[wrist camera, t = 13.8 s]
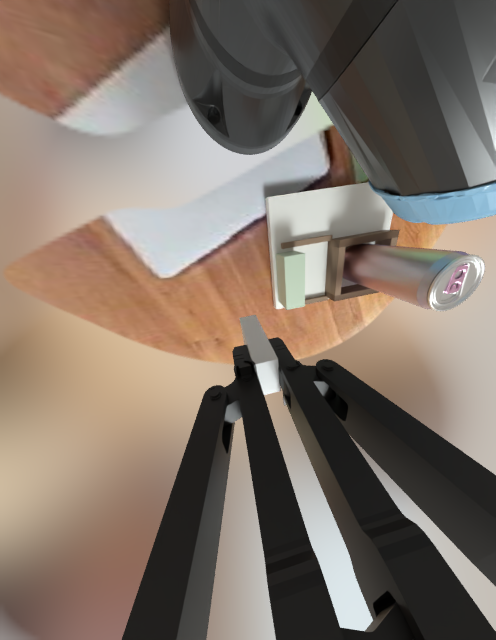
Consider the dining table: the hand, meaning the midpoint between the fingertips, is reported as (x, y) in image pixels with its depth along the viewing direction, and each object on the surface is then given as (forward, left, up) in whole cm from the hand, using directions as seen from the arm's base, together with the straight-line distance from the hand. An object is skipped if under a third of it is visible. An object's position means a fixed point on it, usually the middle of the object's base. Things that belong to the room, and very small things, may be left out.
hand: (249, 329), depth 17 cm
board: (-3, +17, -15) cm, 23 cm away
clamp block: (0, +9, -14) cm, 16 cm away
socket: (0, +21, -14) cm, 25 cm away
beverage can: (-1, +21, -14) cm, 25 cm away
